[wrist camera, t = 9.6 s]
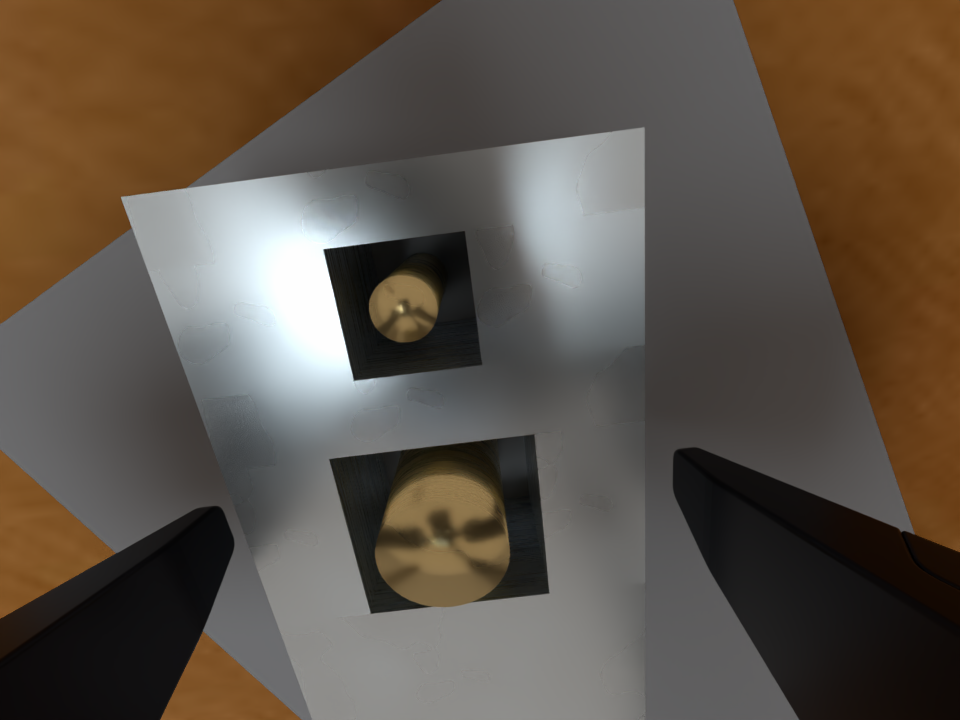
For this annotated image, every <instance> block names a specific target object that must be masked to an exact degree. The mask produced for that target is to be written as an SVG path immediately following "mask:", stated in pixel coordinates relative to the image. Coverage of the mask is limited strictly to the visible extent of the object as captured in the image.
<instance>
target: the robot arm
mask: <svg viewBox="0 0 960 720" xmlns="http://www.w3.org/2000/svg"><path fill="white" fill-rule="evenodd" d="M673 492H674V496H675V498H676V501H677V503H678V505H679V507H680V509H681V511H682V514H683V516H684V518H685V520H686V522H687V524H688V526H689V529H690V531H691V533H692V535H693V537H694V539H695V542H696V544H697V546H698V548H699V550H700V552H701V555H702V557H703V559H704V561H705V563H706V565H707V567H708V569H709V571H710V572H711V574H712V576H713V578H714V579H715V581H716V583H717V584H718V586H719V588H720V589H721V591H722V593H723V594H724V596H725V598H726V599H727V601H728V603H729V604H730V606H731V608H732V609H733V611H734V613H735V614H736V616H737V618H738V619H739V621H740V623H741V624H742V626H743V628H744V629H745V631H746V633H747V634H748V636H749V638H750V639H751V641H752V643H753V644H754V646H755V648H756V649H757V651H758V653H759V654H760V656H761V658H762V659H763V661H764V662H765V664H766V666H767V667H768V669H769V671H770V672H771V674H772V676H773V677H774V679H775V681H776V682H777V684H778V686H779V687H780V689H781V691H782V692H783V694H784V696H785V697H786V699H787V701H788V702H789V704H790V706H791V707H792V709H793V711H794V712H795V714H796V716H797V717H798V719H799V720H960V552H957V551H955V550H952V549H950V548H947V547H945V546H942V545H939V544H937V543H934V542H932V541H929V540H927V539H924V538H922V537H919V536H917V535H915V534H912V533H910V532H907V531H902V532H901V531H900V530H899V529H898V528H897V527H894V526H892V525H889V524H887V523H884V522H882V521H880V520H877V519H875V518H872V517H870V516H867V515H865V514H862V513H860V512H857V511H855V510H852V509H850V508H847V507H845V506H842V505H840V504H837V503H835V502H832V501H830V500H827V499H825V498H822V497H820V496H817V495H815V494H812V493H810V492H807V491H805V490H802V489H800V488H797V487H795V486H792V485H790V484H788V483H785V482H783V481H780V480H778V479H775V478H773V477H770V476H768V475H765V474H763V473H760V472H758V471H755V470H753V469H750V468H748V467H745V466H743V465H740V464H738V463H735V462H733V461H730V460H728V459H725V458H723V457H720V456H718V455H715V454H713V453H710V452H708V451H706V450H703V449H701V448H698V447H690V448H682V449H677V450H676V451H675V452H674V455H673ZM234 546H235V542H234V537H233V534H232V531H231V529H230V526H229V524H228V521H227V518H226V516H225V513H224V511H223V509H222V508H221V507H219V506H208V507H199V508H196V509H194V510H192V511H191V512H189V513H187V514H185V515H183V516H182V517H180V518H178V519H176V520H175V521H173V522H171V523H169V524H168V525H166V526H164V527H162V528H160V529H159V530H157V531H155V532H153V533H152V534H150V535H148V536H146V537H145V538H143V539H141V540H139V541H137V542H136V543H134V544H132V545H130V546H129V547H127V548H125V549H123V550H121V551H120V552H118V553H116V554H114V555H113V556H111V557H109V558H107V559H106V560H104V561H102V562H100V563H98V564H97V565H95V566H93V567H91V568H90V569H88V570H86V571H84V572H83V573H81V574H79V575H77V576H75V577H74V578H72V579H70V580H68V581H67V582H65V583H63V584H61V585H60V586H58V587H56V588H54V589H52V590H51V591H49V592H47V593H45V594H44V595H42V596H40V597H38V598H36V599H35V600H33V601H31V602H29V603H28V604H26V605H24V606H22V607H21V608H19V609H17V610H15V611H13V612H12V613H10V614H8V615H6V616H5V617H3V618H1V619H0V720H160V719H161V717H162V715H163V713H164V711H165V709H166V706H167V704H168V702H169V700H170V698H171V696H172V694H173V692H174V690H175V688H176V686H177V684H178V682H179V680H180V678H181V676H182V674H183V671H184V669H185V667H186V665H187V663H188V661H189V659H190V657H191V655H192V653H193V651H194V649H195V647H196V645H197V643H198V641H199V638H200V636H201V634H202V632H203V630H204V627H205V625H206V623H207V620H208V618H209V615H210V613H211V610H212V607H213V605H214V602H215V599H216V597H217V594H218V591H219V589H220V586H221V584H222V581H223V578H224V576H225V573H226V570H227V568H228V565H229V562H230V560H231V557H232V554H233V551H234Z"/></svg>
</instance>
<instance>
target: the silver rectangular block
mask: <svg viewBox="0 0 960 720" xmlns="http://www.w3.org/2000/svg"><path fill="white" fill-rule="evenodd" d="M121 199H122V202H123V204H124V207H125V210H126V213H127V215H128V218H129V221H130V224H131V226H132V229H133V232H134V235H135V237H136V240H137V243H138V245H139V248H140V251H141V254H142V256H143V259H144V262H145V265H146V267H147V270H148V273H149V275H150V278H151V281H152V284H153V286H154V289H155V292H156V295H157V297H158V300H159V303H160V305H161V308H162V311H163V314H164V316H165V319H166V322H167V325H168V327H169V330H170V333H171V336H172V338H173V341H174V344H175V346H176V349H177V352H178V355H179V357H180V360H181V363H182V366H183V368H184V371H185V374H186V376H187V379H188V382H189V385H190V387H191V390H192V393H193V396H194V398H195V401H196V404H197V407H198V409H199V412H200V415H201V417H202V420H203V423H204V426H205V428H206V431H207V434H208V437H209V439H210V442H211V445H212V447H213V450H214V453H215V456H216V458H217V461H218V464H219V467H220V469H221V472H222V475H223V477H224V480H225V483H226V486H227V488H228V491H229V494H230V497H231V499H232V502H233V505H234V508H235V510H236V513H237V516H238V518H239V521H240V524H241V527H242V529H243V532H244V535H245V538H246V540H247V543H248V546H249V548H250V551H251V554H252V557H253V559H254V562H255V565H256V568H257V570H258V573H259V576H260V578H261V581H262V584H263V587H264V589H265V592H266V595H267V598H268V600H269V603H270V606H271V609H272V611H273V614H274V617H275V619H276V622H277V625H278V628H279V630H280V633H281V636H282V639H283V641H284V644H285V647H286V649H287V652H288V655H289V658H290V660H291V663H292V666H293V669H294V671H295V674H296V677H297V679H298V682H299V685H300V688H301V690H302V693H303V696H304V699H305V701H306V704H307V707H308V710H309V712H310V715H311V718H312V720H645V127H643V128H636V129H628V130H621V131H613V132H606V133H598V134H591V135H583V136H576V137H568V138H561V139H553V140H546V141H538V142H531V143H523V144H516V145H508V146H501V147H493V148H486V149H478V150H471V151H463V152H456V153H448V154H441V155H433V156H426V157H418V158H411V159H403V160H396V161H388V162H381V163H373V164H366V165H358V166H351V167H343V168H336V169H328V170H321V171H313V172H306V173H298V174H291V175H283V176H276V177H268V178H261V179H253V180H246V181H238V182H231V183H223V184H216V185H208V186H201V187H193V188H185V189H178V190H170V191H163V192H155V193H148V194H140V195H133V196H125V197H121ZM460 231H465V235H466V243H467V251H468V259H469V266H470V274H471V282H472V289H473V297H474V305H475V313H476V318H473V319H465V320H457V321H449V322H441V323H435V324H434V326H433V328H432V329H431V331H430V332H429V333H428V334H427V335H426V336H424V337H423V338H421V339H419V340H416V341H413V342H397V341H393V340H391V339H389V338H387V337H385V336H384V335H383V334H381V333H380V332H379V331H378V330H377V328H376V327H375V326H374V324H373V322H372V320H371V317H370V312H369V302H370V298H371V295H372V293H373V291H374V290H375V288H376V287H377V286H378V280H377V275H376V270H375V265H374V260H373V255H372V250H371V245H370V243H376V242H383V241H391V240H399V239H407V238H414V237H422V236H430V235H437V234H445V233H453V232H460ZM515 436H523V438H524V448H525V458H526V467H527V477H528V487H529V496H521V497H512V498H504V504H505V512H506V521H507V529H508V538H509V547H510V560H509V565H508V568H507V571H506V573H505V575H504V577H503V578H502V580H501V581H500V582H499V584H498V585H497V586H496V587H495V588H494V589H493V590H492V591H490V592H489V593H488V594H486V595H485V596H483V597H481V598H480V599H478V600H476V601H473V602H470V603H468V604H464V605H460V606H454V607H433V606H426V605H422V604H418V603H416V602H413V601H410V600H408V599H406V598H404V597H403V596H401V595H399V594H398V593H397V592H395V591H394V590H393V589H392V588H391V587H390V586H389V585H388V584H387V583H386V582H385V580H384V579H383V578H382V576H381V574H380V572H379V570H378V567H377V564H376V558H375V548H376V542H377V538H378V535H379V531H380V527H381V524H382V520H383V516H384V513H385V509H386V505H387V502H388V498H389V494H390V491H391V489H390V485H389V481H388V476H387V472H386V467H385V463H384V458H383V454H382V453H383V452H391V451H399V450H407V449H416V448H424V447H432V446H441V445H449V444H457V443H465V442H474V441H482V440H490V439H499V438H507V437H515Z"/></svg>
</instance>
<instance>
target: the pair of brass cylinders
mask: <svg viewBox="0 0 960 720" xmlns="http://www.w3.org/2000/svg"><path fill="white" fill-rule="evenodd" d="M446 283H447V273H446V270H445V267H444V265H443V264H442V263H441V261H440V260H438V259H437V258H436V257H434V256H432V255H430V254H426V253H419V254H415V255H412V256H410V257H409V258H408V259H406V260H405V261H404V262H403V263H402V264H401V265H400V266H399V267H398V268H396V269H395V270H394V271H393V272H392V273H391V274H390V275H389V276H388V277H387V278H385V279H384V280H383V281H382V282H381V283H380V284H379V285H378V286H377V287H376V288H375V290H374V291H373V293H372V295H371V298H370V302H369V312H370V317H371V320H372V322H373V324H374V326H375V327H376V328H377V330H378V331H379V332H380V333H381V334H383V335H384V336H385V337H387V338H389V339H391V340H393V341H397V342H413V341H416V340H419V339H421V338H423V337H424V336H426V335H427V334H428V333H429V332H430V331H431V329H432V328H433V326H434V324H435V322H436V319H437V315H438V312H439V308H440V305H441V301H442V298H443V294H444V290H445V287H446ZM375 558H376V564H377V567H378V570H379V572H380V574H381V576H382V578H383V579H384V580H385V582H386V583H387V584H388V585H389V586H390V587H391V588H392V589H393V590H394V591H395V592H397V593H398V594H399V595H401V596H403V597H404V598H406V599H408V600H410V601H413V602H416V603H418V604H422V605H426V606H433V607H454V606H460V605H464V604H468V603H470V602H473V601H476V600H478V599H480V598H481V597H483V596H485V595H486V594H488V593H489V592H490V591H492V590H493V589H494V588H495V587H496V586H497V585H498V584H499V582H500V581H501V580H502V578H503V577H504V575H505V573H506V571H507V568H508V565H509V560H510V547H509V538H508V529H507V521H506V512H505V504H504V495H503V487H502V478H501V470H500V461H499V452H498V444H497V439H490V440H482V441H474V442H465V443H457V444H449V445H441V446H432V447H424V448H416V449H407V450H402V451H401V454H400V458H399V461H398V465H397V469H396V472H395V476H394V480H393V483H392V487H391V491H390V494H389V498H388V502H387V505H386V509H385V513H384V516H383V520H382V524H381V527H380V531H379V535H378V538H377V542H376V548H375Z"/></svg>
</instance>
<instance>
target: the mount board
mask: <svg viewBox="0 0 960 720" xmlns="http://www.w3.org/2000/svg"><path fill="white" fill-rule="evenodd" d="M643 127H645V720H799V719H798V717H797V716H796V714H795V712H794V711H793V709H792V707H791V706H790V704H789V702H788V701H787V699H786V697H785V696H784V694H783V692H782V691H781V689H780V687H779V686H778V684H777V682H776V681H775V679H774V677H773V676H772V674H771V672H770V671H769V669H768V667H767V666H766V664H765V662H764V661H763V659H762V658H761V656H760V654H759V653H758V651H757V649H756V648H755V646H754V644H753V643H752V641H751V639H750V638H749V636H748V634H747V633H746V631H745V629H744V628H743V626H742V624H741V623H740V621H739V619H738V618H737V616H736V614H735V613H734V611H733V609H732V608H731V606H730V604H729V603H728V601H727V599H726V598H725V596H724V594H723V593H722V591H721V589H720V588H719V586H718V584H717V583H716V581H715V579H714V578H713V576H712V574H711V572H710V571H709V569H708V567H707V565H706V563H705V561H704V559H703V557H702V555H701V552H700V550H699V548H698V546H697V544H696V542H695V539H694V537H693V535H692V533H691V531H690V529H689V526H688V524H687V522H686V520H685V518H684V516H683V514H682V511H681V509H680V507H679V505H678V503H677V501H676V498H675V496H674V492H673V455H674V452H675V451H676V450H677V449H682V448H690V447H698V448H701V449H703V450H706V451H708V452H710V453H713V454H715V455H718V456H720V457H723V458H725V459H728V460H730V461H733V462H735V463H738V464H740V465H743V466H745V467H748V468H750V469H753V470H755V471H758V472H760V473H763V474H765V475H768V476H770V477H773V478H775V479H778V480H780V481H783V482H785V483H788V484H790V485H792V486H795V487H797V488H800V489H802V490H805V491H807V492H810V493H812V494H815V495H817V496H820V497H822V498H825V499H827V500H830V501H832V502H835V503H837V504H840V505H842V506H845V507H847V508H850V509H852V510H855V511H857V512H860V513H862V514H865V515H867V516H870V517H872V518H875V519H877V520H880V521H882V522H884V523H887V524H889V525H892V526H894V527H897V528H898V529H899V530H900V531H901V532H902V531H907V532H910V533H912V534H914V531H913V528H912V525H911V522H910V519H909V516H908V513H907V510H906V507H905V504H904V501H903V498H902V495H901V492H900V490H899V487H898V484H897V481H896V478H895V475H894V472H893V469H892V466H891V463H890V460H889V457H888V454H887V451H886V448H885V445H884V443H883V440H882V437H881V434H880V431H879V428H878V425H877V422H876V419H875V416H874V413H873V410H872V407H871V404H870V401H869V398H868V395H867V393H866V390H865V387H864V384H863V381H862V378H861V375H860V372H859V369H858V366H857V363H856V360H855V357H854V354H853V351H852V348H851V345H850V343H849V340H848V337H847V334H846V331H845V328H844V325H843V322H842V319H841V316H840V313H839V310H838V307H837V304H836V301H835V298H834V296H833V293H832V290H831V287H830V284H829V281H828V278H827V275H826V272H825V269H824V266H823V263H822V260H821V257H820V254H819V251H818V248H817V246H816V243H815V240H814V237H813V234H812V231H811V228H810V225H809V222H808V219H807V216H806V213H805V210H804V207H803V204H802V201H801V198H800V196H799V193H798V190H797V187H796V184H795V181H794V178H793V175H792V172H791V169H790V166H789V163H788V160H787V157H786V154H785V151H784V149H783V146H782V143H781V140H780V137H779V134H778V131H777V128H776V125H775V122H774V119H773V116H772V113H771V110H770V107H769V104H768V101H767V99H766V96H765V93H764V90H763V87H762V84H761V81H760V78H759V75H758V72H757V69H756V66H755V63H754V60H753V57H752V54H751V51H750V49H749V46H748V43H747V40H746V37H745V34H744V31H743V28H742V25H741V22H740V19H739V16H738V13H737V10H736V7H735V4H734V1H733V0H442V1H440V2H439V3H438V4H436V5H435V6H433V7H432V8H431V9H429V10H428V11H427V12H425V13H424V14H423V15H421V16H420V17H419V18H417V19H416V20H414V21H413V22H412V23H410V24H409V25H408V26H406V27H405V28H404V29H402V30H401V31H399V32H398V33H397V34H395V35H394V36H393V37H391V38H390V39H389V40H387V41H386V42H384V43H383V44H382V45H380V46H379V47H378V48H376V49H375V50H374V51H372V52H371V53H369V54H368V55H367V56H365V57H364V58H363V59H361V60H360V61H359V62H357V63H356V64H354V65H353V66H352V67H350V68H349V69H348V70H346V71H345V72H344V73H342V74H341V75H340V76H338V77H337V78H335V79H334V80H333V81H331V82H330V83H329V84H327V85H326V86H325V87H323V88H322V89H320V90H319V91H318V92H316V93H315V94H314V95H312V96H311V97H310V98H308V99H307V100H305V101H304V102H303V103H301V104H300V105H299V106H297V107H296V108H295V109H293V110H292V111H290V112H289V113H288V114H286V115H285V116H284V117H282V118H281V119H280V120H278V121H277V122H275V123H274V124H273V125H271V126H270V127H269V128H267V129H266V130H265V131H263V132H262V133H261V134H259V135H258V136H256V137H255V138H254V139H252V140H251V141H250V142H248V143H247V144H246V145H244V146H243V147H241V148H240V149H239V150H237V151H236V152H235V153H233V154H232V155H231V156H229V157H228V158H226V159H225V160H224V161H222V162H221V163H220V164H218V165H217V166H216V167H214V168H213V169H211V170H210V171H209V172H207V173H206V174H205V175H203V176H202V177H201V178H199V179H198V180H196V181H195V182H194V183H192V184H191V185H190V186H188V187H187V188H193V187H201V186H208V185H216V184H223V183H231V182H238V181H246V180H253V179H261V178H268V177H276V176H283V175H291V174H298V173H306V172H313V171H321V170H328V169H336V168H343V167H351V166H358V165H366V164H373V163H381V162H388V161H396V160H403V159H411V158H418V157H426V156H433V155H441V154H448V153H456V152H463V151H471V150H478V149H486V148H493V147H501V146H508V145H516V144H523V143H531V142H538V141H546V140H553V139H561V138H568V137H576V136H583V135H591V134H598V133H606V132H613V131H621V130H628V129H636V128H643ZM370 245H371V250H372V255H373V260H374V265H375V270H376V275H377V280H378V285H379V284H380V283H381V282H382V281H383V280H384V279H385V278H387V277H388V276H389V275H390V274H391V273H392V272H393V271H394V270H395V269H396V268H398V267H399V266H400V265H401V264H402V263H403V262H404V261H405V260H406V259H408V258H409V257H410V256H412V255H415V254H419V253H426V254H430V255H432V256H434V257H436V258H437V259H438V260H440V261H441V263H442V264H443V265H444V267H445V270H446V273H447V283H446V287H445V290H444V294H443V298H442V301H441V305H440V308H439V312H438V315H437V319H436V322H435V323H441V322H449V321H457V320H465V319H473V318H476V313H475V305H474V297H473V289H472V282H471V274H470V266H469V259H468V251H467V243H466V235H465V231H460V232H453V233H445V234H437V235H430V236H422V237H414V238H407V239H399V240H391V241H383V242H376V243H370ZM497 444H498V452H499V461H500V470H501V478H502V487H503V495H504V498H512V497H521V496H529V487H528V477H527V467H526V458H525V448H524V438H523V436H515V437H507V438H499V439H497ZM0 449H1V450H2V451H3V452H4V453H5V454H6V455H7V456H8V457H9V458H11V459H12V460H13V461H14V462H15V463H16V464H17V465H18V466H19V467H21V468H22V469H23V470H24V471H25V472H26V473H27V474H28V475H30V476H31V477H32V478H33V479H34V480H35V481H36V482H37V483H38V484H40V485H41V486H42V487H43V488H44V489H45V490H46V491H47V492H49V493H50V494H51V495H52V496H53V497H54V498H55V499H56V500H57V501H59V502H60V503H61V504H62V505H63V506H64V507H65V508H66V509H67V510H69V511H70V512H71V513H72V514H73V515H74V516H75V517H76V518H78V519H79V520H80V521H81V522H82V523H83V524H84V525H85V526H86V527H88V528H89V529H90V530H91V531H92V532H93V533H94V534H95V535H96V536H98V537H99V538H100V539H101V540H102V541H103V542H104V543H105V544H107V545H108V546H109V547H110V548H111V549H112V550H113V551H114V552H115V553H118V552H120V551H121V550H123V549H125V548H127V547H129V546H130V545H132V544H134V543H136V542H137V541H139V540H141V539H143V538H145V537H146V536H148V535H150V534H152V533H153V532H155V531H157V530H159V529H160V528H162V527H164V526H166V525H168V524H169V523H171V522H173V521H175V520H176V519H178V518H180V517H182V516H183V515H185V514H187V513H189V512H191V511H192V510H194V509H196V508H199V507H208V506H219V507H221V508H222V509H223V511H224V513H225V516H226V518H227V521H228V524H229V526H230V529H231V531H232V534H233V537H234V542H235V546H234V551H233V554H232V557H231V560H230V562H229V565H228V568H227V570H226V573H225V576H224V578H223V581H222V584H221V586H220V589H219V591H218V594H217V597H216V599H215V602H214V605H213V607H212V610H211V613H210V615H209V618H208V620H207V623H206V625H205V627H204V630H203V631H204V632H205V633H206V634H207V635H208V636H209V637H210V638H211V639H213V640H214V641H215V642H216V643H217V644H218V645H219V646H220V647H221V648H223V649H224V650H225V651H226V652H227V653H228V654H229V655H230V656H232V657H233V658H234V659H235V660H236V661H237V662H238V663H239V664H240V665H242V666H243V667H244V668H245V669H246V670H247V671H248V672H249V673H251V674H252V675H253V676H254V677H255V678H256V679H257V680H258V681H259V682H261V683H262V684H263V685H264V686H265V687H266V688H267V689H268V690H269V691H271V692H272V693H273V694H274V695H275V696H276V697H277V698H278V699H280V700H281V701H282V702H283V703H284V704H285V705H286V706H287V707H288V708H290V709H291V710H292V711H293V712H294V713H295V714H296V715H297V716H299V717H300V718H301V719H302V720H312V718H311V715H310V712H309V710H308V707H307V704H306V701H305V699H304V696H303V693H302V690H301V688H300V685H299V682H298V679H297V677H296V674H295V671H294V669H293V666H292V663H291V660H290V658H289V655H288V652H287V649H286V647H285V644H284V641H283V639H282V636H281V633H280V630H279V628H278V625H277V622H276V619H275V617H274V614H273V611H272V609H271V606H270V603H269V600H268V598H267V595H266V592H265V589H264V587H263V584H262V581H261V578H260V576H259V573H258V570H257V568H256V565H255V562H254V559H253V557H252V554H251V551H250V548H249V546H248V543H247V540H246V538H245V535H244V532H243V529H242V527H241V524H240V521H239V518H238V516H237V513H236V510H235V508H234V505H233V502H232V499H231V497H230V494H229V491H228V488H227V486H226V483H225V480H224V477H223V475H222V472H221V469H220V467H219V464H218V461H217V458H216V456H215V453H214V450H213V447H212V445H211V442H210V439H209V437H208V434H207V431H206V428H205V426H204V423H203V420H202V417H201V415H200V412H199V409H198V407H197V404H196V401H195V398H194V396H193V393H192V390H191V387H190V385H189V382H188V379H187V376H186V374H185V371H184V368H183V366H182V363H181V360H180V357H179V355H178V352H177V349H176V346H175V344H174V341H173V338H172V336H171V333H170V330H169V327H168V325H167V322H166V319H165V316H164V314H163V311H162V308H161V305H160V303H159V300H158V297H157V295H156V292H155V289H154V286H153V284H152V281H151V278H150V275H149V273H148V270H147V267H146V265H145V262H144V259H143V256H142V254H141V251H140V248H139V245H138V243H137V240H136V237H135V235H134V232H133V229H132V228H131V229H130V230H128V231H127V232H126V233H124V234H123V235H122V236H120V237H119V238H117V239H116V240H115V241H113V242H112V243H111V244H109V245H108V246H107V247H105V248H104V249H103V250H101V251H100V252H98V253H97V254H96V255H94V256H93V257H92V258H90V259H89V260H88V261H86V262H85V263H83V264H82V265H81V266H79V267H78V268H77V269H75V270H74V271H73V272H71V273H70V274H68V275H67V276H66V277H64V278H63V279H62V280H60V281H59V282H58V283H56V284H55V285H53V286H52V287H51V288H49V289H48V290H47V291H45V292H44V293H43V294H41V295H40V296H38V297H37V298H36V299H34V300H33V301H32V302H30V303H29V304H28V305H26V306H25V307H24V308H22V309H21V310H19V311H18V312H17V313H15V314H14V315H13V316H11V317H10V318H9V319H7V320H6V321H4V322H3V323H2V324H0ZM401 451H402V450H399V451H391V452H383V453H382V454H383V458H384V463H385V467H386V472H387V476H388V481H389V485H390V489H391V487H392V483H393V480H394V476H395V472H396V469H397V465H398V461H399V458H400V454H401Z"/></svg>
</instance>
